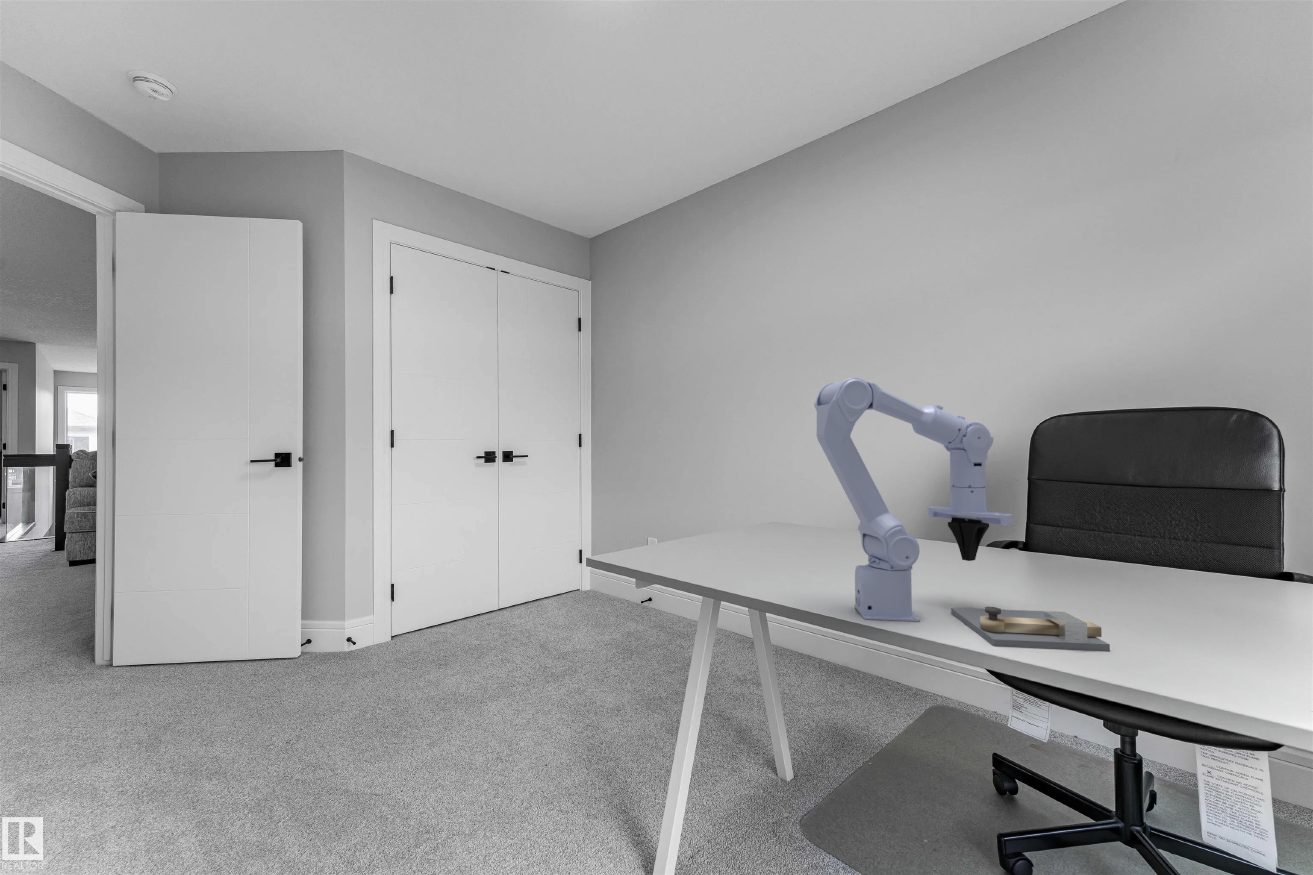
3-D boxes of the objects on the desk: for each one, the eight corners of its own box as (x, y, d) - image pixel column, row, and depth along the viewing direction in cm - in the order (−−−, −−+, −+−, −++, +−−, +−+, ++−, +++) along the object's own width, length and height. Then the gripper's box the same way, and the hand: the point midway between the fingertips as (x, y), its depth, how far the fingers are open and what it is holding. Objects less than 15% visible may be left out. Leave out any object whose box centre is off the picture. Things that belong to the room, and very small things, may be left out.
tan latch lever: (985, 631, 84) (985, 611, 84) (976, 624, 87) (976, 604, 88) (1102, 637, 81) (1102, 616, 81) (1088, 629, 84) (1087, 609, 85)
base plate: (993, 645, 81) (993, 639, 81) (951, 613, 97) (951, 607, 97) (1109, 650, 79) (1109, 644, 79) (1046, 616, 95) (1046, 611, 95)
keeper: (1065, 642, 80) (1064, 622, 80) (1044, 629, 85) (1043, 611, 85) (1087, 643, 79) (1086, 623, 79) (1064, 630, 85) (1064, 611, 85)
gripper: (1021, 488, 95) (1022, 564, 95) (943, 483, 107) (944, 551, 107) (999, 490, 91) (1000, 569, 91) (921, 485, 104) (922, 554, 104)
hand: (968, 559), depth 99 cm, fingers closed
